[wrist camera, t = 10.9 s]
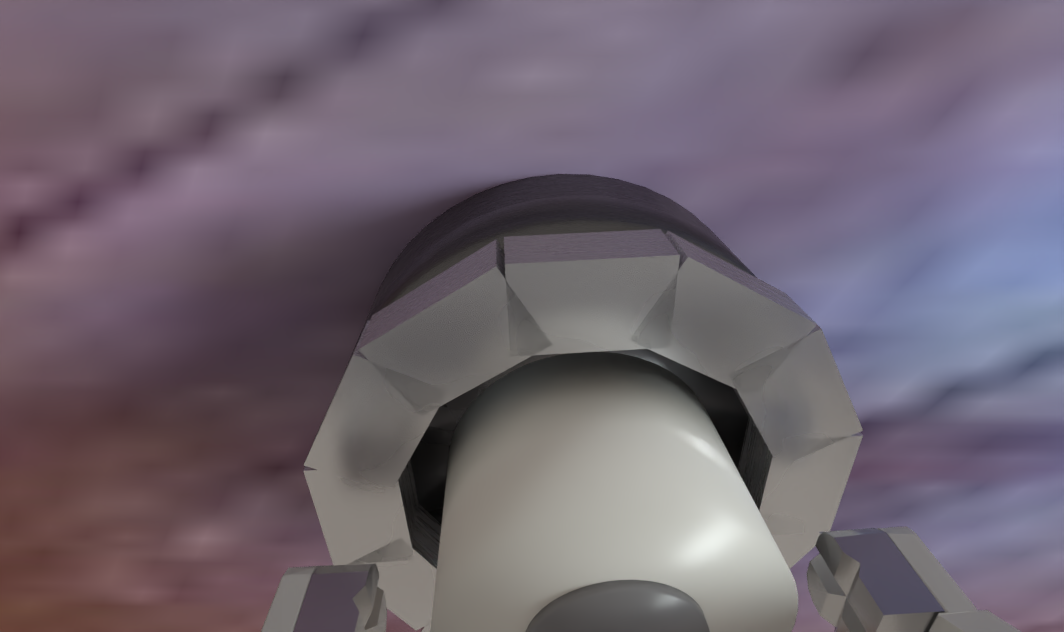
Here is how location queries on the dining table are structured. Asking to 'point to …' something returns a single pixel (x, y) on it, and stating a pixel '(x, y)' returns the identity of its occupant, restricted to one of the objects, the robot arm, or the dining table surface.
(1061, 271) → the dining table surface
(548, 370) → the cap
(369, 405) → the lens barrel
